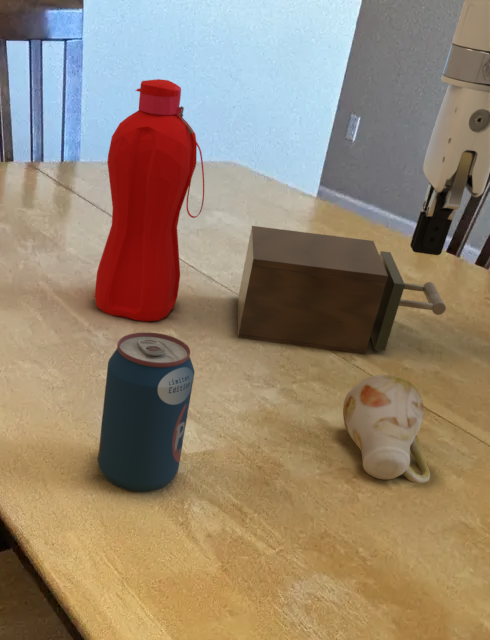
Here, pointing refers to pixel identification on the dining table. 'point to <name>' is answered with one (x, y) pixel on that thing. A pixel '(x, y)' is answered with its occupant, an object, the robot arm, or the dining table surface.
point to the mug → (386, 426)
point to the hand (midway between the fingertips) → (424, 251)
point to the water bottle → (147, 206)
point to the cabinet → (310, 290)
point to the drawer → (399, 301)
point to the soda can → (145, 411)
